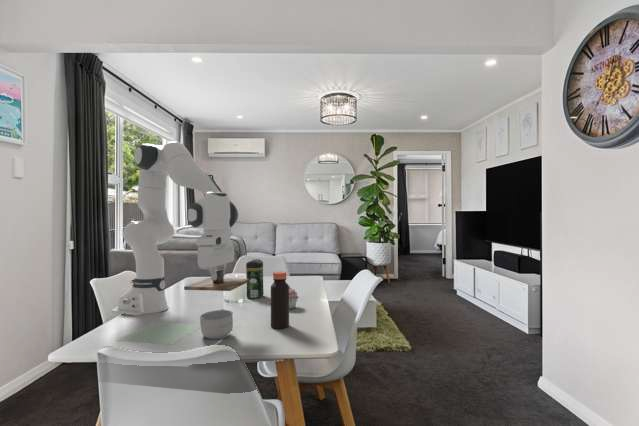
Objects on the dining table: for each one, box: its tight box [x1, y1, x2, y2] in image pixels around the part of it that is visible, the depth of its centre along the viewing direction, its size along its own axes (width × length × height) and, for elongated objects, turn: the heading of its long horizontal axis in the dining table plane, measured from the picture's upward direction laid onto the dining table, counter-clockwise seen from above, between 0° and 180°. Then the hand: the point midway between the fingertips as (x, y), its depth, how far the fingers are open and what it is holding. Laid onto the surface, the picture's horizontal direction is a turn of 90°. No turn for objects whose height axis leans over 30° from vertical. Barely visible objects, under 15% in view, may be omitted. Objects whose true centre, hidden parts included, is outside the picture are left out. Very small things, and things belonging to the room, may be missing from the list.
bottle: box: [270, 270, 290, 330], centre depth 134 cm, size 7×7×20 cm
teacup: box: [199, 308, 234, 340], centre depth 125 cm, size 14×11×8 cm
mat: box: [116, 321, 201, 345], centre depth 127 cm, size 20×20×1 cm
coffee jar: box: [245, 259, 264, 300], centre depth 182 cm, size 10×8×19 cm
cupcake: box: [289, 285, 299, 310], centre depth 161 cm, size 9×9×10 cm
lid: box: [183, 269, 249, 292], centre depth 125 cm, size 16×16×5 cm
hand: (218, 278), depth 125 cm, fingers closed on lid, 4 cm apart
